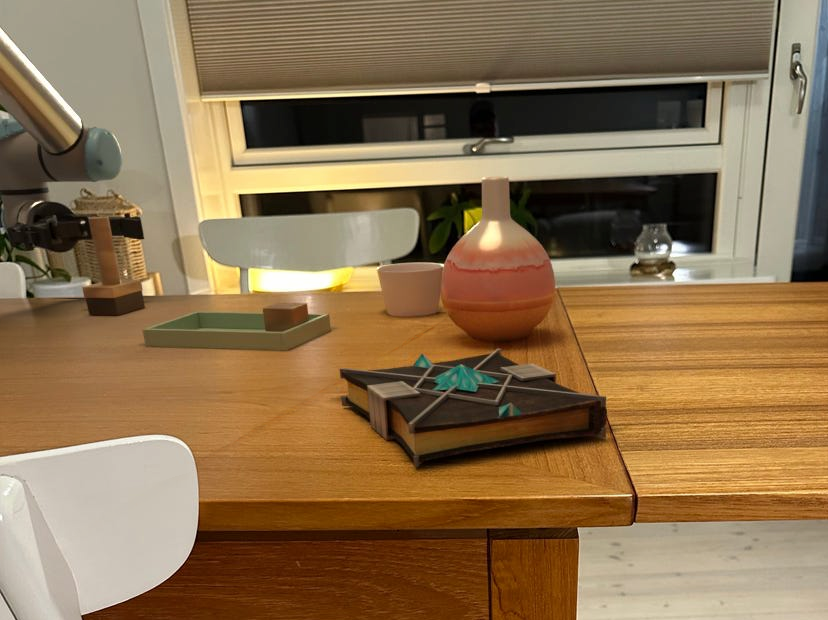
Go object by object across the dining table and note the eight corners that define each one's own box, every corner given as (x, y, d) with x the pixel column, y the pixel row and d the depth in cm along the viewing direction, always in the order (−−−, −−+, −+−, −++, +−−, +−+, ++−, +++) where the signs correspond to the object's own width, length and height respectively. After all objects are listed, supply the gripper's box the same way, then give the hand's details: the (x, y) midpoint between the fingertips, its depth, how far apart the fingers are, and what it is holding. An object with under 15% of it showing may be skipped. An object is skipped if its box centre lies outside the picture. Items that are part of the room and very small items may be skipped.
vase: (577, 339, 114) (579, 175, 105) (477, 354, 108) (471, 183, 100) (517, 322, 124) (515, 172, 116) (424, 336, 119) (414, 179, 110)
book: (608, 439, 78) (610, 378, 76) (413, 471, 73) (409, 406, 70) (502, 383, 96) (501, 332, 94) (339, 405, 91) (334, 352, 88)
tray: (146, 351, 117) (142, 329, 115) (199, 331, 127) (196, 311, 126) (287, 355, 111) (284, 332, 110) (331, 334, 122) (329, 313, 120)
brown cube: (266, 342, 116) (262, 308, 114) (281, 336, 119) (277, 302, 117) (296, 343, 115) (292, 308, 113) (311, 336, 118) (307, 302, 116)
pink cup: (393, 324, 126) (389, 274, 123) (371, 314, 134) (367, 266, 131) (455, 317, 129) (453, 267, 126) (431, 307, 137) (428, 260, 134)
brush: (88, 315, 141) (66, 220, 135) (117, 306, 147) (98, 215, 141) (118, 316, 140) (98, 219, 134) (146, 307, 146) (128, 214, 140)
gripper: (129, 243, 164) (180, 252, 149) (-25, 259, 150) (14, 271, 135) (120, 195, 160) (171, 199, 145) (-39, 207, 147) (-1, 213, 132)
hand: (95, 234), depth 140 cm, fingers open, 13 cm apart
